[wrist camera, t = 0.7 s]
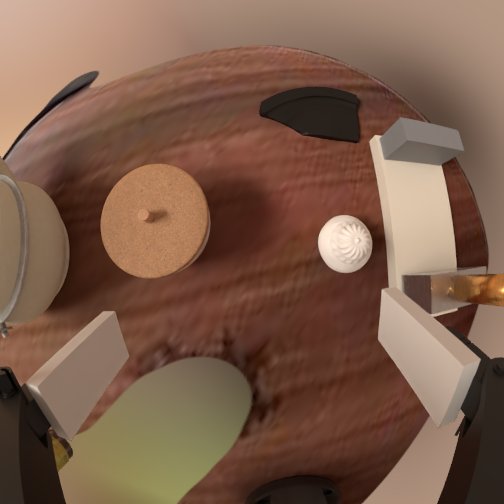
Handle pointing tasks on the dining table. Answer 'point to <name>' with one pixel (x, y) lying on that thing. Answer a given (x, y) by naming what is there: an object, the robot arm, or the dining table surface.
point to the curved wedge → (315, 112)
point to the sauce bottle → (60, 450)
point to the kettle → (28, 250)
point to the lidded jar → (155, 221)
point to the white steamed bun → (345, 244)
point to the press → (416, 197)
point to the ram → (454, 288)
